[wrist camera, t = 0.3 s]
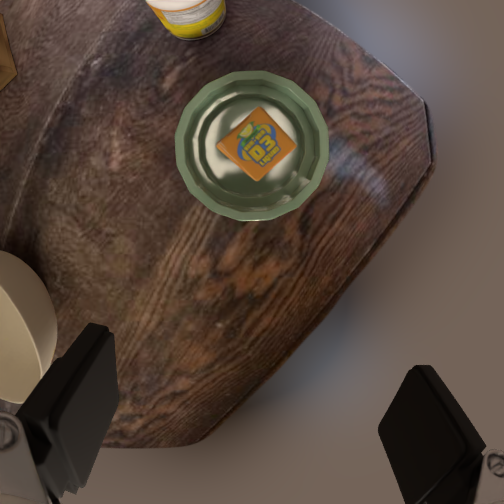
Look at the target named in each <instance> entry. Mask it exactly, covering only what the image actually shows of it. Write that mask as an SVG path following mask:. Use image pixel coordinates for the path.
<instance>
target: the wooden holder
mask: <svg viewBox="0 0 504 504" xmlns="http://www.w3.org/2000/svg"><path fill="white" fill-rule="evenodd" d="M16 75H17V71H16V68H15V64H14V61H13V57H12V54H11V50H10V46H9V42H8V38H7V34H6V29H5V25H4V20H3V16H2V14H1V13H0V91H1V90H2V89H3V88H4V87H5V86H6V85H7V84H8V83H9V82H10V81H11V80H12V79H13V78H14V77H15V76H16Z"/></svg>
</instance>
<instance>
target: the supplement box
mask: <svg viewBox="0 0 504 504" xmlns="http://www.w3.org/2000/svg"><path fill="white" fill-rule="evenodd" d="M216 147H217V148H218V149H219V150H220V151H221V152H222V153H223V154H225V155H226V156H227V157H228V158H229V159H230V160H232V161H233V162H234V163H235V164H236V165H237V166H238V167H239V168H241V169H242V170H243V171H244V172H245V173H246V174H248V175H249V176H250V177H251V178H252V179H254V180H255V181H259V180H260V179H261V178H262V177H263V176H264V175H266V174H267V173H268V172H269V171H270V170H271V169H272V168H273V167H274V166H276V165H277V164H278V163H279V162H280V161H281V160H282V159H283V158H284V157H285V156H287V155H288V154H289V153H290V152H291V151H292V150H293V149H295V148H296V147H297V145H296V143H295V142H294V141H293V140H292V139H291V138H290V137H289V136H288V135H287V134H286V133H285V131H284V130H283V129H282V128H281V127H280V126H279V125H278V124H277V123H276V122H275V121H274V120H273V118H272V117H271V116H270V115H269V114H268V113H267V112H266V111H265V110H264V109H263V108H262V107H256V109H254V110H253V111H252V112H251V113H250V114H249V115H248V116H247V117H246V118H245V119H244V120H243V121H242V122H241V123H239V124H238V125H237V126H236V127H235V128H234V129H233V130H232V131H231V132H229V133H228V134H227V135H226V136H225V137H223V138H222V139H221V140H220V141H219V142H217V144H216Z"/></svg>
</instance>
